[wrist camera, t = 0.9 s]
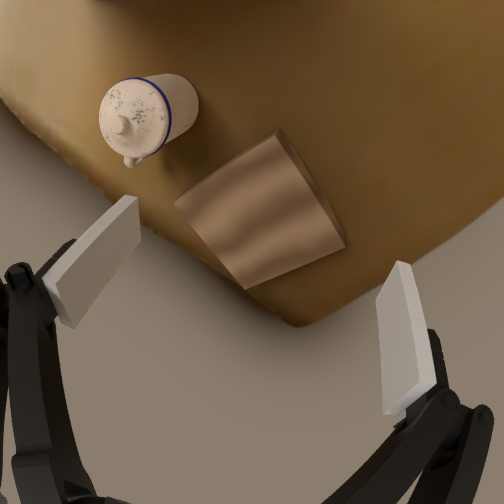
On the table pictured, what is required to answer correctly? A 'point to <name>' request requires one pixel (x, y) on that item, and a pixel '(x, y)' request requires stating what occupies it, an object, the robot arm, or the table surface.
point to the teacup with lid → (147, 114)
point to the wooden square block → (262, 213)
